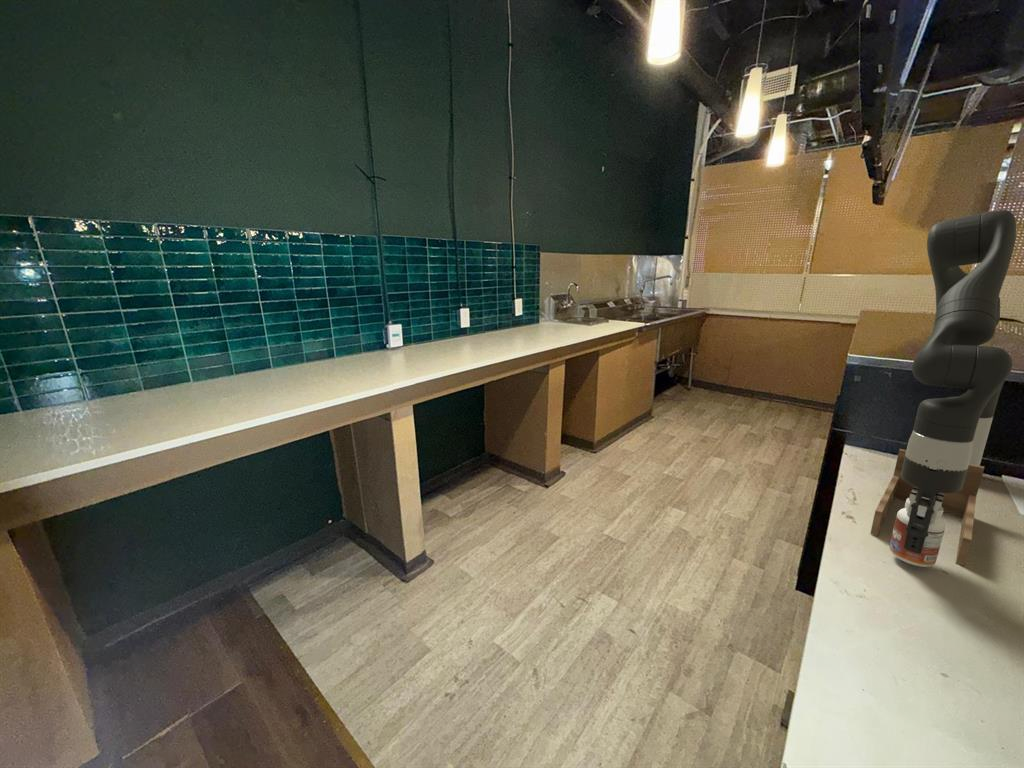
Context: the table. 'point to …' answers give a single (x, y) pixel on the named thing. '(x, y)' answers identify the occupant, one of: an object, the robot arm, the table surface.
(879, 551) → the table surface
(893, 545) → the pill bottle
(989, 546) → the table surface
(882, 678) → the table surface
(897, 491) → the open-sided box
